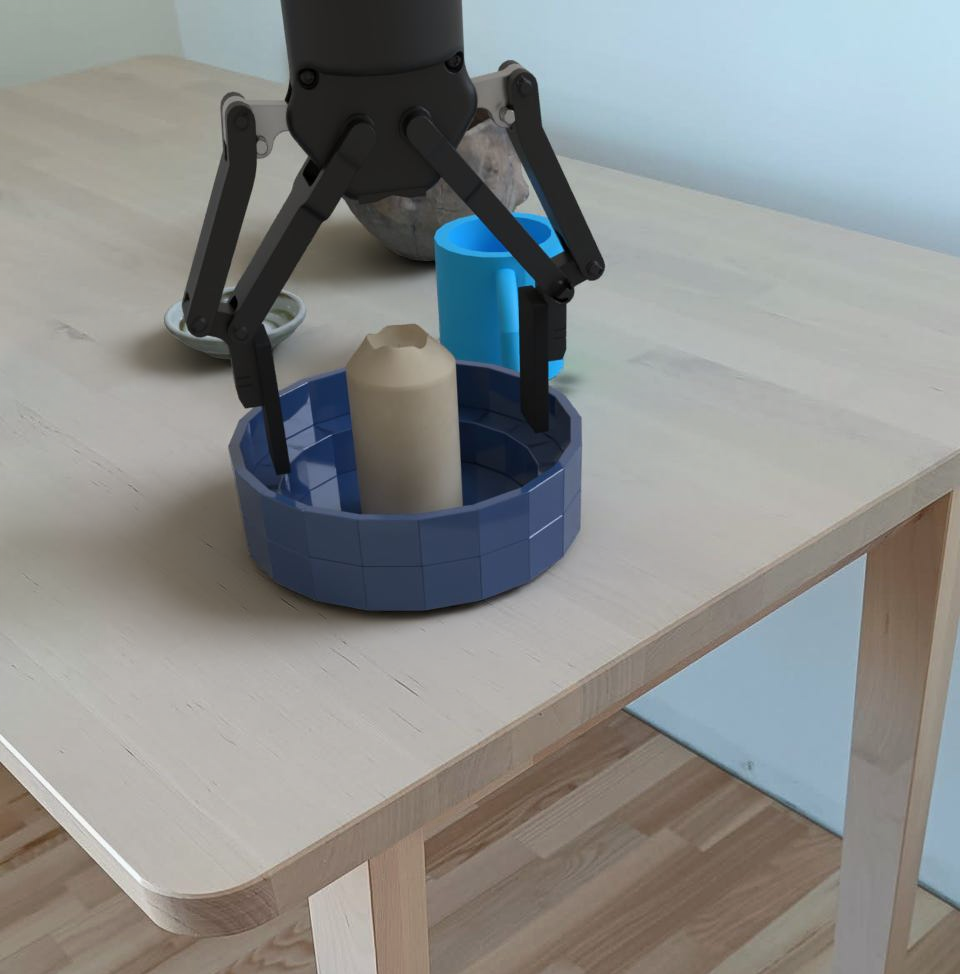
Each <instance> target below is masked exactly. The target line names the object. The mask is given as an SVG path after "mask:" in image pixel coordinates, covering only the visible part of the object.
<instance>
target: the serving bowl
mask: <svg viewBox="0 0 960 974" xmlns="http://www.w3.org/2000/svg"><path fill="white" fill-rule="evenodd" d="M455 360H456V359H455ZM456 379H457V399H458V419H459V439H460V459H461V479H462V502H463V506H461V507H455V508H449V509H443V510H437V511H431V512H425V513H419V514H362V510H361V503H360V494H359V485H358V476H357V467H356V458H355V449H354V440H353V431H352V422H351V413H350V404H349V395H348V386H347V377H346V366H342V367H338V368H336V369H332V370H329V371H325V372H322V373H319V374H315V375H312V376H307V377H305V378H302V379H299V380H297V381H295V382H293V383H291V384H290V385H287V386H285V387H283V388H281V389H278V390H279V397H280V403H281V410H282V416H283V422H284V429H285V435H286V442H287V448H288V454H289V461H290V467H291V473H289V474H283V475H276V472H275V469H274V465H273V462H272V459H271V456H270V453H269V448H268V442H267V436H266V430H265V424H264V418H263V412H262V406H259V407H253V408H250V410H249V411H248V412H246V413H245V414H244V415H243V416H242V417H240V418H239V420H238V422H237V424H236V427H235V429H234V431H233V433H232V436H231V438H230V441H229V442H228V445H227V446H228V447H227V449H228V454H229V461H230V466H231V471H232V476H233V481H234V487H235V493H236V498H237V503H238V508H239V509H238V510H239V514H240V520H241V525H242V530H243V534H244V539H245V542H246V546H247V550H248V553H249V557H250V559H251V560H252V561H253V562H254V563H255V564H256V565H257V566H258V567H259V568H260V569H261V570H262V571H263V572H264V573H265V574H266V575H267V576H268V577H269V578H270V579H271V580H272V582H274V583H276V584H277V585H280V586H282V587H284V588H286V589H288V590H290V591H293V592H296V593H298V594H300V595H302V596H303V597H306V598H309V599H310V600H313V601H316V602H321V603H325V604H330V605H336V606H340V607H347V608H352V609H357V610H363V611H367V612H368V611H372V612H373V611H375V612H376V611H378V612H380V611H381V612H382V611H384V612H386V611H388V612H389V611H391V612H393V611H396V612H397V611H398V612H399V611H401V612H402V611H404V612H405V611H407V612H409V611H414V612H415V611H418V612H419V611H420V612H421V611H430V610H435V609H440V608H446V607H452V606H457V605H463V604H470V603H475V602H480V601H483V600H486V599H489V598H492V597H494V596H497V595H499V594H502V593H505V592H507V591H509V590H512V589H514V588H518V587H519V586H523V585H525V584H527V583H530V582H531V581H532V580H534V579H535V578H536V577H538V576H539V575H540V574H542V573H543V572H544V571H546V570H547V569H549V568H551V567H552V566H553V565H554V564H555V563H557V562H558V561H560V560H561V559H563V558H564V557H565V555H566V553H567V552H568V550H569V549H570V547H571V545H572V544H573V542H574V541H575V540H576V537H578V534H579V533H580V531H581V519H582V518H581V517H582V515H581V514H582V513H581V512H582V472H583V471H582V469H583V467H582V466H583V465H582V462H583V418H582V416H581V414H580V413H579V412H578V409H576V408H575V406H574V404H573V403H572V402H571V401H570V400H569V398H568V397H567V395H566V394H565V393H563V392H561V391H559V390H558V389H557V388H554V387H553V386H551V385H549V431H547V432H541V433H535V432H534V431H533V429H532V428H531V427H530V425H529V424H528V422H527V421H526V419H525V418H524V416H523V415H522V413H521V406H520V372H518V371H515V370H511V369H508V368H505V367H502V366H498V365H495V364H488V363H480V362H472V361H464V360H456Z"/></svg>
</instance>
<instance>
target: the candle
mask: <svg viewBox="0 0 960 974" xmlns="http://www.w3.org/2000/svg"><path fill="white" fill-rule="evenodd" d="M345 367H346V377H347V386H348V395H349V404H350V413H351V422H352V431H353V440H354V449H355V458H356V467H357V476H358V485H359V494H360V503H361V510H362V514H419V513H425V512H431V511H437V510H443V509H449V508H455V507H461V506H463V502H462V479H461V459H460V439H459V419H458V399H457V379H456V360H455V357H454V356H453V354H452V353H451V352H449V351H448V350H447V349H446V348H445V347H444V346H443V345H442V344H441V343H440V341H438V340H437V339H435V338H434V337H433V336H432V335H430V334H429V332H427V331H426V330H425V329H424V328H422V327H421V326H420V325H418V324H417V323H407V324H391V325H386V326H384V327H383V328H382V329H381V330H380V331H379V332H377V333H371V332H370V333H369V332H368V333H367V334H366V335H365V337H364V339H363V340H362V341H361V343H360V344H359V345H358V347H357V349H355V351H354V352H353V354H352V355H351V357H349V359H348V360H347V362H346V364H345Z"/></svg>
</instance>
